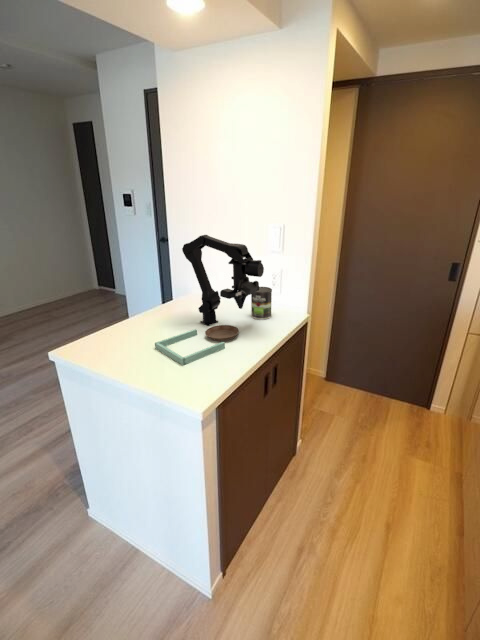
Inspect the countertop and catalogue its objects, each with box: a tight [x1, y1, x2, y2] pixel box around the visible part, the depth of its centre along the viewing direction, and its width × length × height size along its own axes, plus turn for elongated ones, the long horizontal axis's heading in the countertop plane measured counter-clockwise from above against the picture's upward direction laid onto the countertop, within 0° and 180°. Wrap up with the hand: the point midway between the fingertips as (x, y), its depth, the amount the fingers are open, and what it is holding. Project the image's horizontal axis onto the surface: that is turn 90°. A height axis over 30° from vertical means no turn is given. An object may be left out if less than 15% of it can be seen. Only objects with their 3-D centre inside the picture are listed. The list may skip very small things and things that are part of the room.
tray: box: [154, 328, 226, 366], centre depth 134 cm, size 20×20×2 cm
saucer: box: [204, 324, 240, 342], centre depth 145 cm, size 15×15×3 cm
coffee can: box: [250, 286, 273, 321], centre depth 165 cm, size 10×10×14 cm
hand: (240, 308), depth 149 cm, fingers closed
